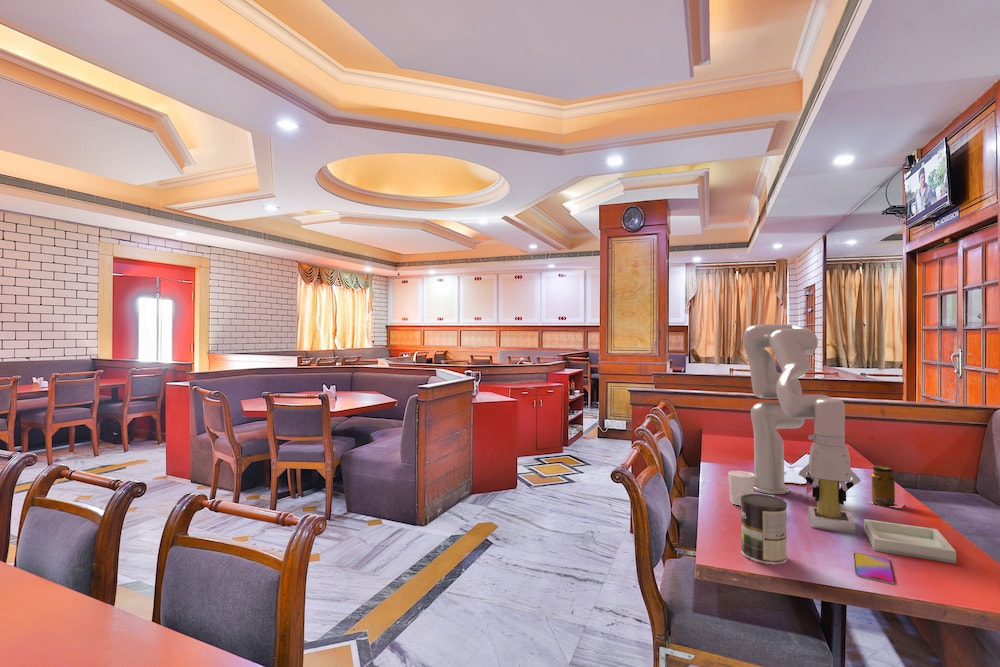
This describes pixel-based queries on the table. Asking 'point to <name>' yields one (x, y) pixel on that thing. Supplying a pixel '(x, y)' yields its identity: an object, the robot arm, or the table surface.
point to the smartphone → (873, 568)
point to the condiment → (883, 486)
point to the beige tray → (909, 541)
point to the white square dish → (832, 521)
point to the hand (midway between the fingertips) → (828, 500)
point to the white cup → (740, 485)
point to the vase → (829, 499)
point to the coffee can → (764, 528)
